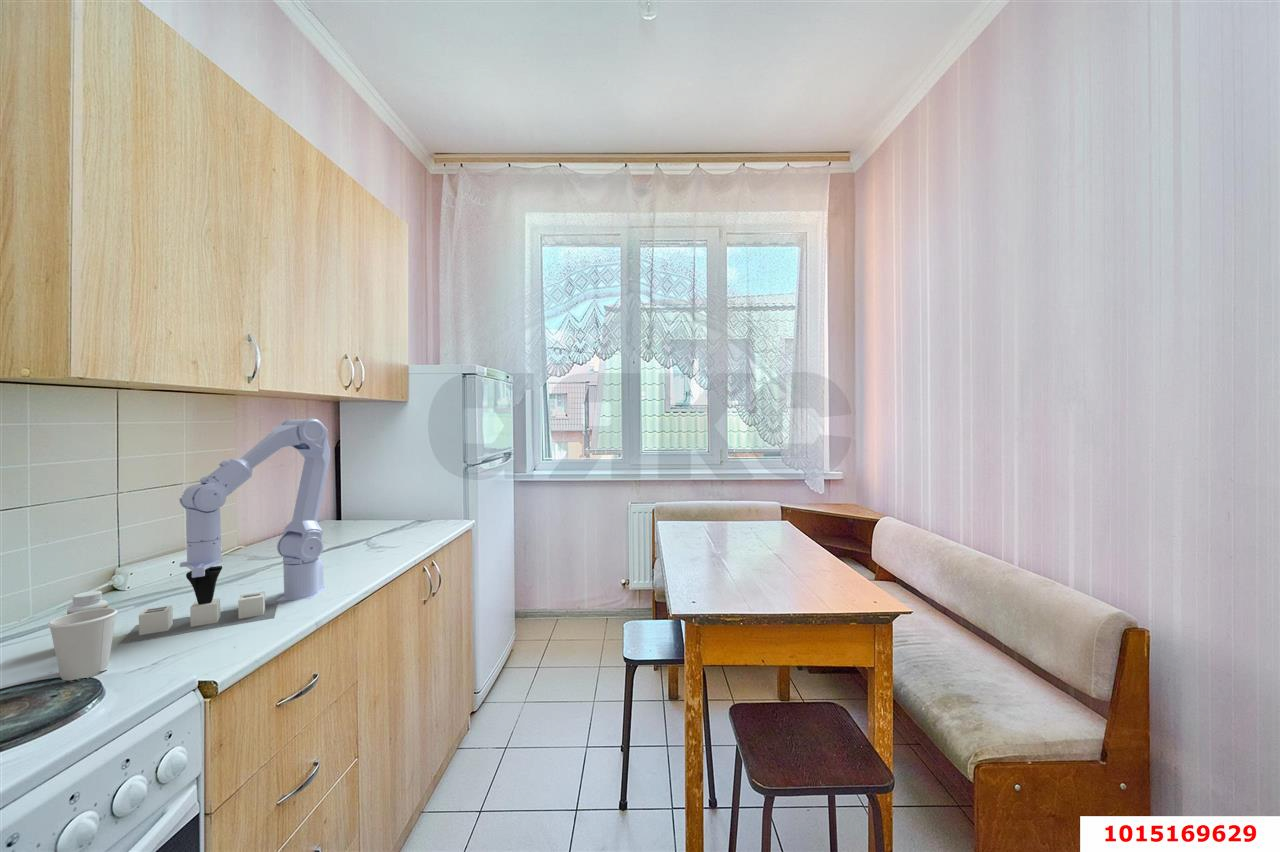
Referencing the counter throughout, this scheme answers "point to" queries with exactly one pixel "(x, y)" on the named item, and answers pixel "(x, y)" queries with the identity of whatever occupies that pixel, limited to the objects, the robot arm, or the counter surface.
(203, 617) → the plain block
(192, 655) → the counter surface
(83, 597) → the supplement bottle
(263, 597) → the one bar block
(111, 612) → the dixie cup
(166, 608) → the two bar block
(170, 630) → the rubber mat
